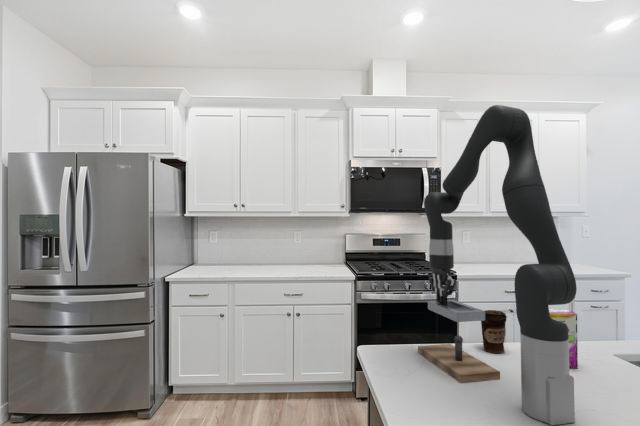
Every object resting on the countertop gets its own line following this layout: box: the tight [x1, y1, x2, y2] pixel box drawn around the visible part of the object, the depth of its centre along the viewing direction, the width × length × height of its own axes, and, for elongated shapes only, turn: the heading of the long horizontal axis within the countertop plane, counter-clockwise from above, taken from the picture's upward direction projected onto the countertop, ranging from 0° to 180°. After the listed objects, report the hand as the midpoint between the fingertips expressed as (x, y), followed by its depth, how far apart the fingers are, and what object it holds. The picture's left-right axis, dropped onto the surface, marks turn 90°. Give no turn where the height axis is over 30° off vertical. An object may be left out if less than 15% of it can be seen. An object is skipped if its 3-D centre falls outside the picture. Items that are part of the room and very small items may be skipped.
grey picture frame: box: [427, 299, 486, 323], centre depth 109 cm, size 16×9×3 cm, turn 12°
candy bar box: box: [549, 308, 579, 369], centre depth 108 cm, size 11×5×16 cm, turn 84°
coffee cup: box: [480, 309, 508, 354], centre depth 121 cm, size 9×8×13 cm
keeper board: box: [417, 335, 501, 384], centre depth 108 cm, size 24×12×9 cm, turn 12°
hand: (441, 306), depth 116 cm, fingers closed on grey picture frame, 1 cm apart
